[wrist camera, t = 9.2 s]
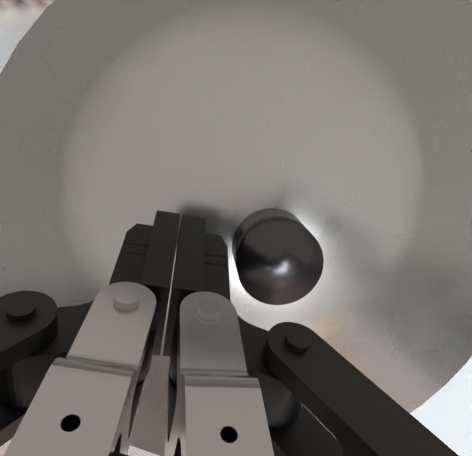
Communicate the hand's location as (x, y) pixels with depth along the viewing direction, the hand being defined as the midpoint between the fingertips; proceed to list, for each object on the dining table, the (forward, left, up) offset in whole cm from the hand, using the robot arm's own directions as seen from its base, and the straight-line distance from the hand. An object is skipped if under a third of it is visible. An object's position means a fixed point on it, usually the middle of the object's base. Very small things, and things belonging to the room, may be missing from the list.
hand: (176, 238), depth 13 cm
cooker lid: (-1, -4, -1) cm, 4 cm away
